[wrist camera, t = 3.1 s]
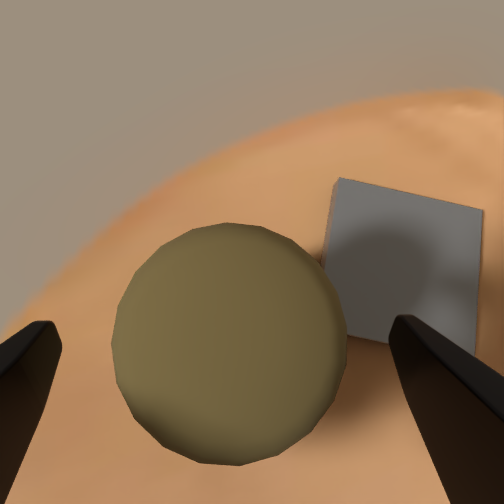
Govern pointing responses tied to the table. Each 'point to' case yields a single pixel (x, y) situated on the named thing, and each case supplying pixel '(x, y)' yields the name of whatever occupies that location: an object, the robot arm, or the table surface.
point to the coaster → (403, 261)
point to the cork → (229, 344)
